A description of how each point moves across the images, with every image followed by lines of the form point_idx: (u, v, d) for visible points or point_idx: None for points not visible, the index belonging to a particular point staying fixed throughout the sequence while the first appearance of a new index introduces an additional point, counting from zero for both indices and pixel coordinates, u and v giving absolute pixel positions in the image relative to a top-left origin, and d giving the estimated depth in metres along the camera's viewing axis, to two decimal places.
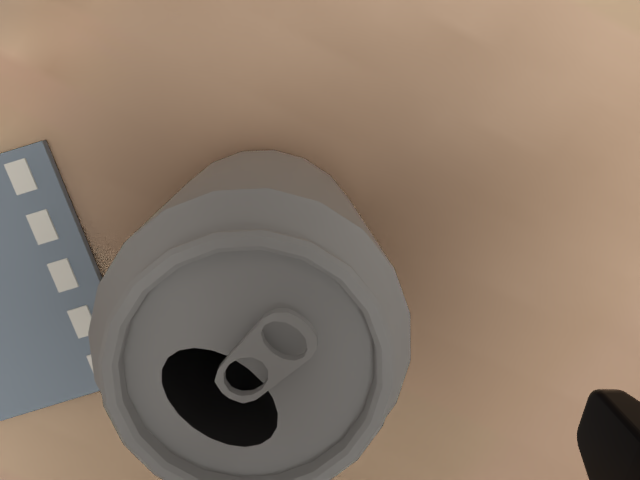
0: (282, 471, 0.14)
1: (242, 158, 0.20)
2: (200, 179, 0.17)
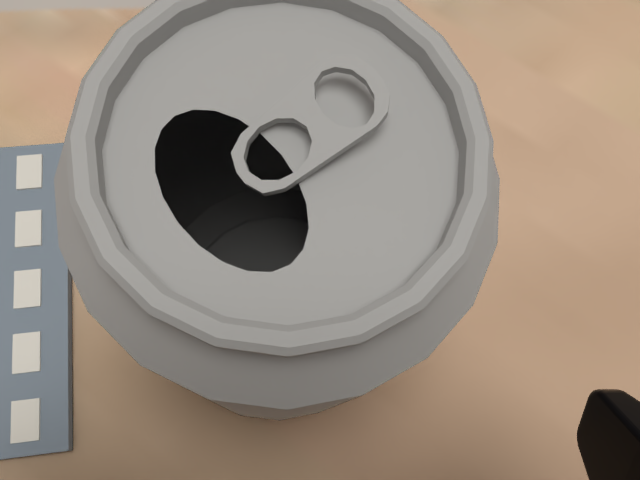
0: None
1: None
2: None
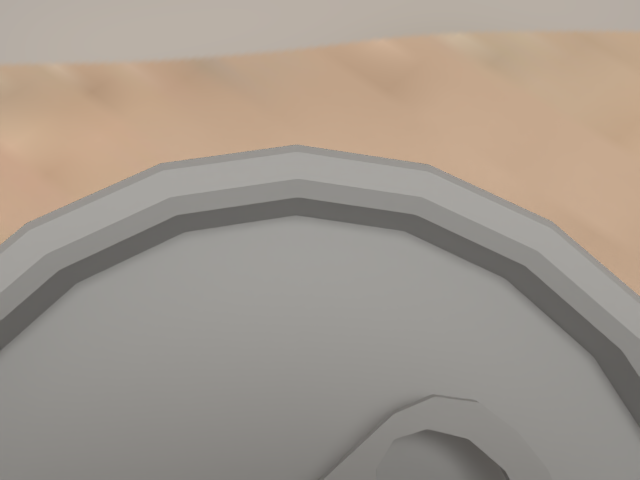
0: None
1: None
2: None
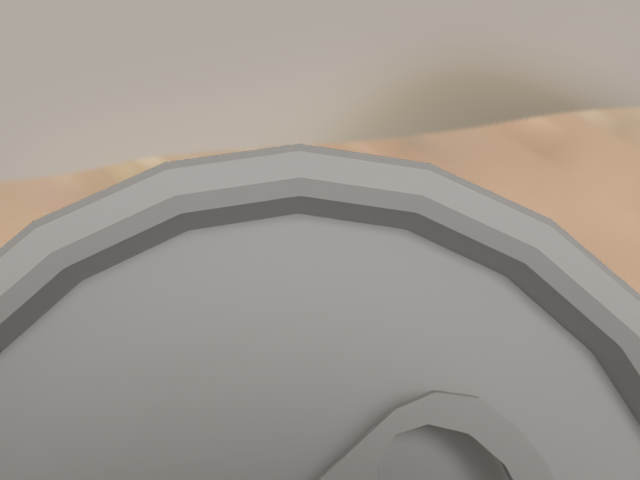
0: None
1: None
2: None
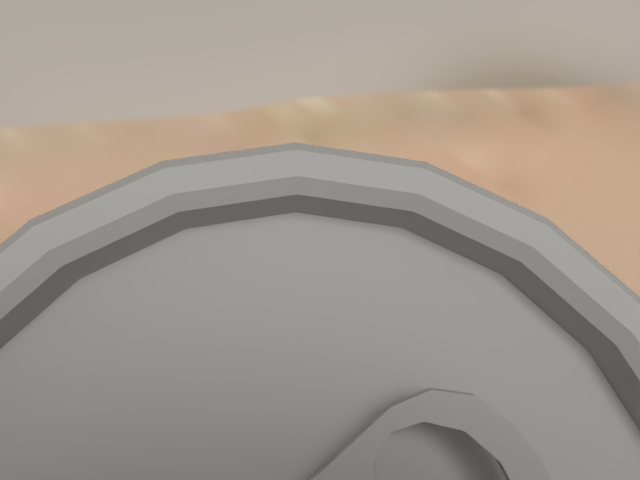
0: None
1: None
2: None
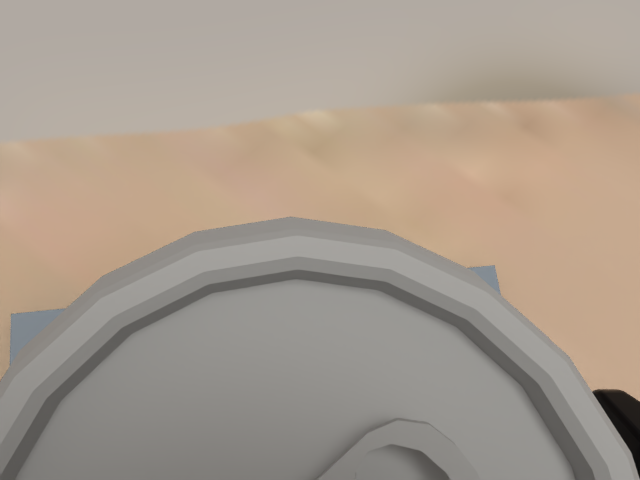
0: None
1: None
2: None
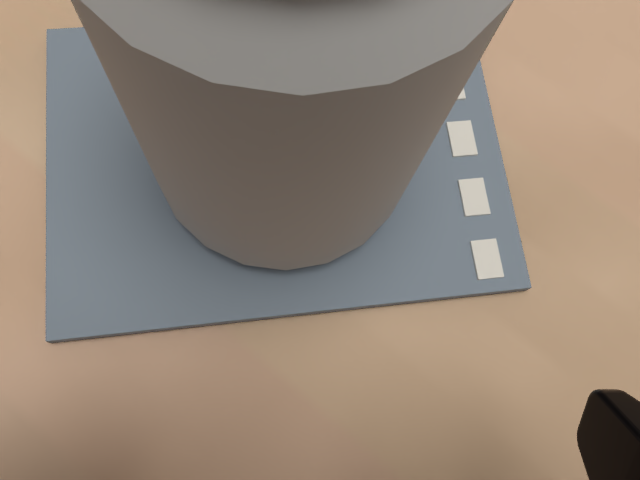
0: None
1: None
2: None
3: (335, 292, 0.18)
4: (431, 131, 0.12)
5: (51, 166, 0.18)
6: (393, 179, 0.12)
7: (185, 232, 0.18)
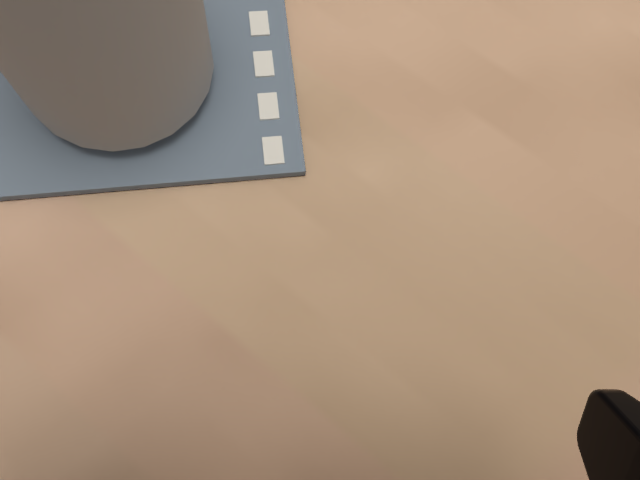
0: None
1: None
2: None
3: (155, 172, 0.24)
4: (156, 24, 0.18)
5: None
6: (143, 62, 0.19)
7: (45, 128, 0.24)
